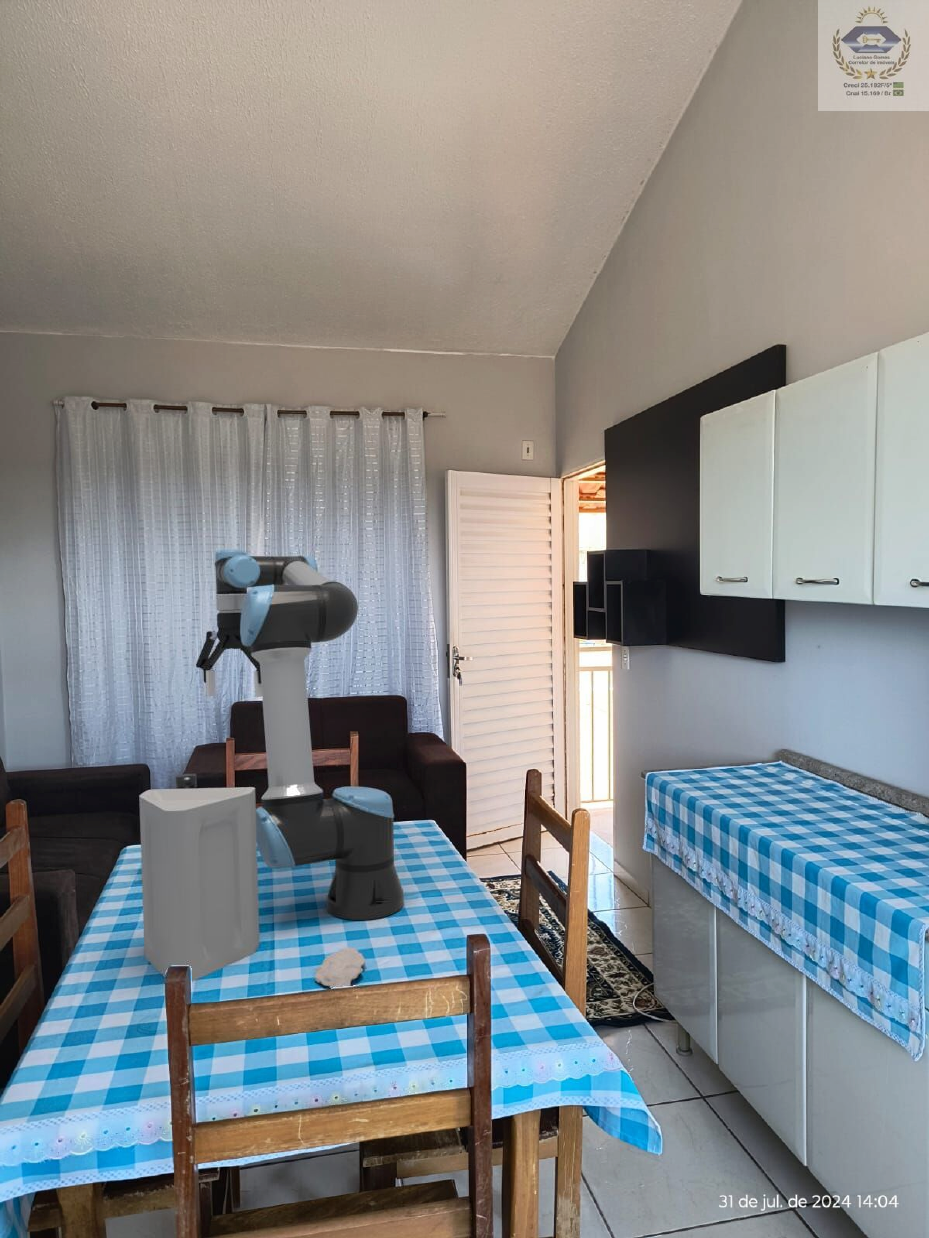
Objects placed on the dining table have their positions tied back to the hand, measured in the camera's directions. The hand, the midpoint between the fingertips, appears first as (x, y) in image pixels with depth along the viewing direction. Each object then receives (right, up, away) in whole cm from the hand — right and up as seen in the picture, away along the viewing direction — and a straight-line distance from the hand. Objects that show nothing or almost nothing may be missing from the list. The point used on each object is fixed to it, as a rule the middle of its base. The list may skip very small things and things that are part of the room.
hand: (234, 696), depth 205 cm
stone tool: (+38, -39, -72) cm, 90 cm away
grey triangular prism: (+12, -39, -66) cm, 78 cm away
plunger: (-4, -35, -22) cm, 42 cm away
